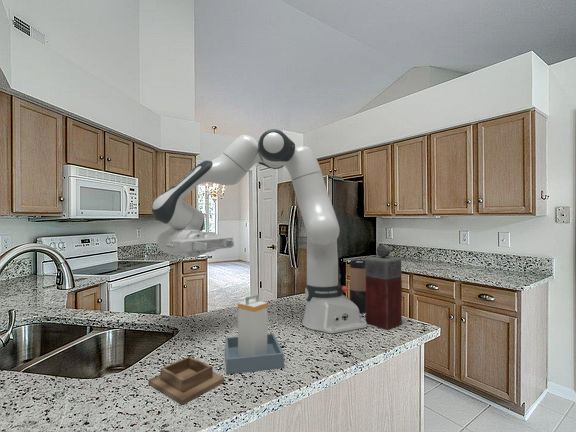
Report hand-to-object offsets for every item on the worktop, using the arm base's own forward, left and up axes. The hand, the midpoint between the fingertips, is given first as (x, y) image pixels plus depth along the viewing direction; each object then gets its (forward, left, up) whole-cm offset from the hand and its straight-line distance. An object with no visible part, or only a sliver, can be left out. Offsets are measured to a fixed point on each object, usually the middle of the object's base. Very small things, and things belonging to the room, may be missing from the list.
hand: (220, 244), depth 93 cm
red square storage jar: (-58, -5, -30) cm, 65 cm away
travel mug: (-55, -21, -30) cm, 66 cm away
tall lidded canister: (-8, +12, -29) cm, 32 cm away
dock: (+8, +21, -30) cm, 37 cm away
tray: (-8, +12, -30) cm, 33 cm away
